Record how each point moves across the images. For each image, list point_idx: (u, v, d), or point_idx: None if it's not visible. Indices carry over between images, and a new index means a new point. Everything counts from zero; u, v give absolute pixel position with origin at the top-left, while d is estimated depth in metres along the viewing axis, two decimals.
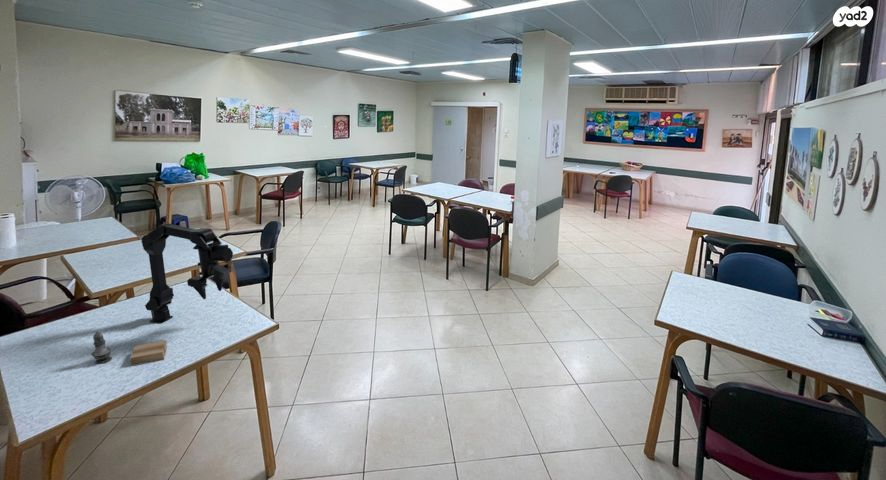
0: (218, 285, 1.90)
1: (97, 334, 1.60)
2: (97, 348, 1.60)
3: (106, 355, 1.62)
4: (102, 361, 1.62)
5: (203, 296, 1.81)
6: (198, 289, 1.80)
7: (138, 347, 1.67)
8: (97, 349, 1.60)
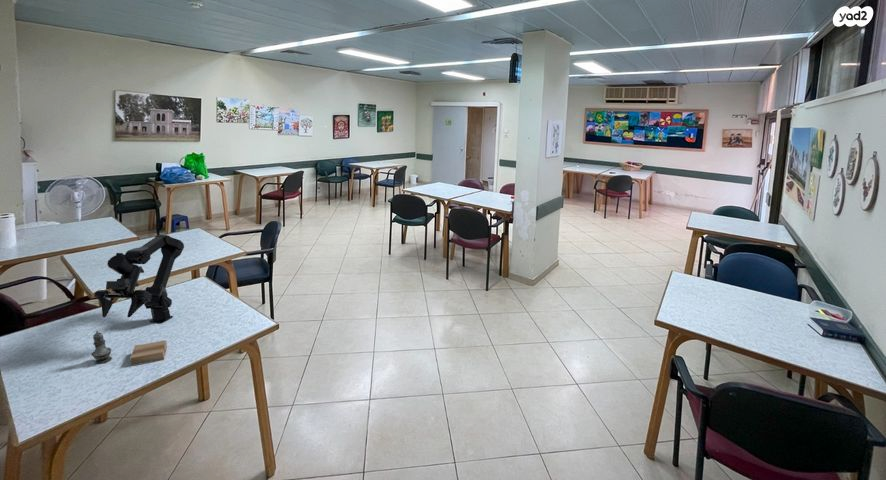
0: None
1: (97, 334, 1.60)
2: (97, 348, 1.60)
3: (106, 355, 1.62)
4: (102, 361, 1.62)
5: None
6: None
7: (138, 347, 1.67)
8: (97, 349, 1.60)
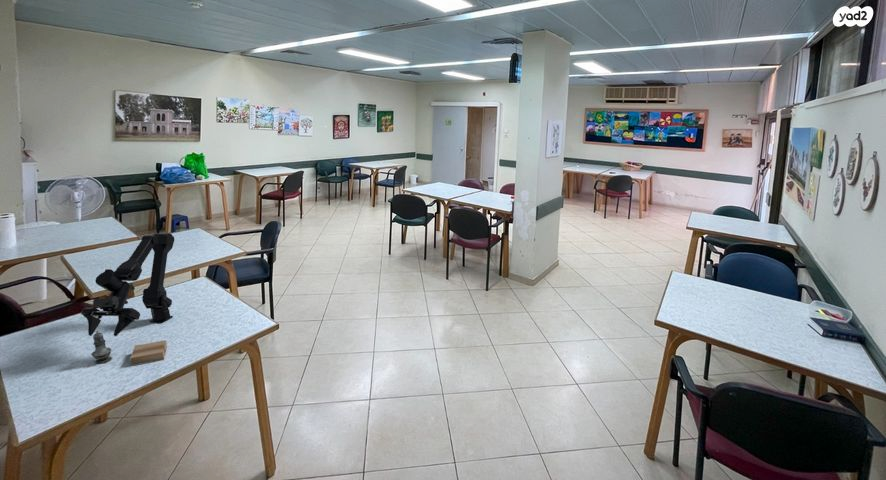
0: None
1: (97, 334, 1.60)
2: (97, 348, 1.60)
3: (106, 355, 1.62)
4: (102, 361, 1.62)
5: None
6: None
7: (138, 347, 1.67)
8: (97, 349, 1.60)
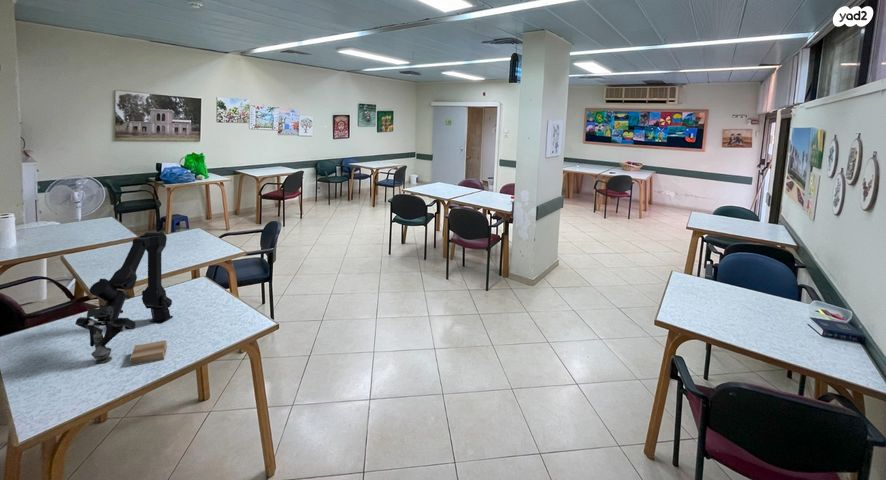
0: None
1: (97, 334, 1.60)
2: (97, 348, 1.60)
3: (106, 355, 1.62)
4: (102, 361, 1.62)
5: None
6: None
7: (138, 347, 1.67)
8: (97, 349, 1.60)
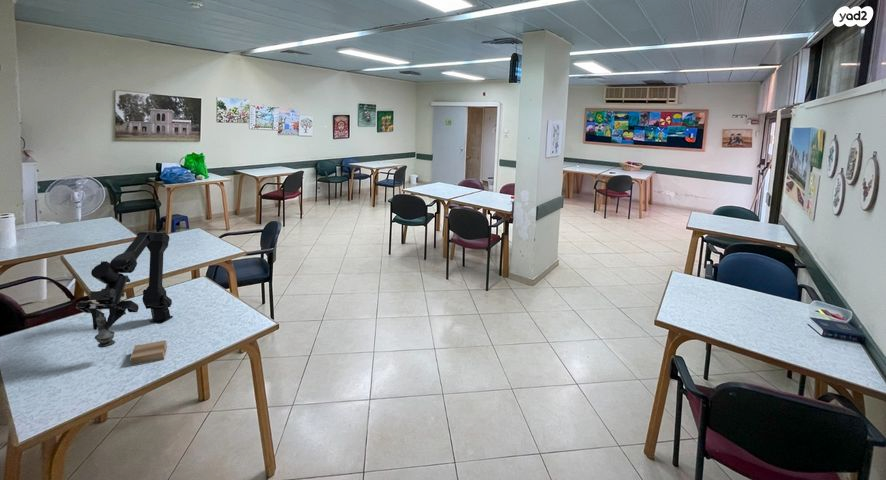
0: None
1: (100, 317, 1.58)
2: (100, 331, 1.59)
3: (110, 338, 1.60)
4: (106, 344, 1.60)
5: None
6: None
7: (138, 347, 1.67)
8: (100, 332, 1.59)
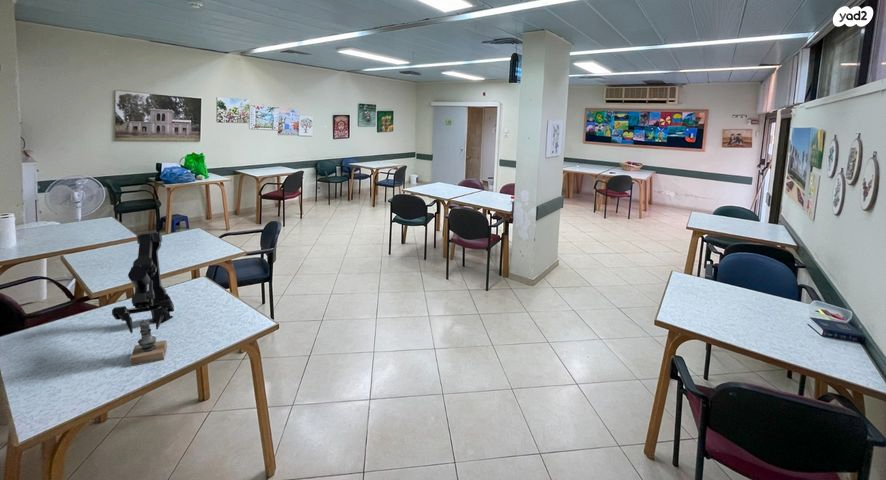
0: None
1: (145, 322, 1.62)
2: (145, 336, 1.63)
3: (154, 342, 1.65)
4: (150, 348, 1.65)
5: (129, 329, 1.61)
6: None
7: (138, 347, 1.67)
8: (145, 337, 1.63)
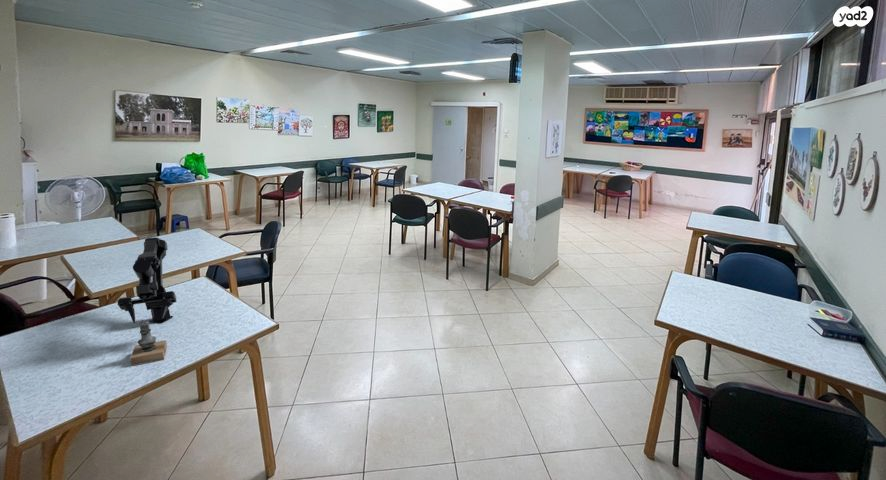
0: None
1: (144, 322, 1.63)
2: (145, 336, 1.63)
3: (154, 342, 1.65)
4: (150, 348, 1.65)
5: (132, 319, 1.69)
6: None
7: (138, 347, 1.67)
8: (145, 337, 1.63)
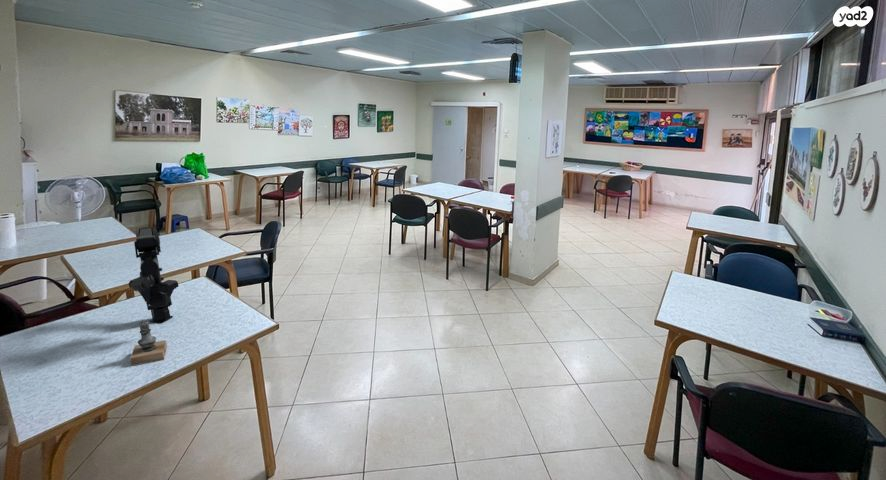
0: None
1: (144, 322, 1.63)
2: (145, 336, 1.63)
3: (154, 342, 1.65)
4: (150, 348, 1.65)
5: None
6: None
7: (138, 347, 1.67)
8: (145, 337, 1.63)
